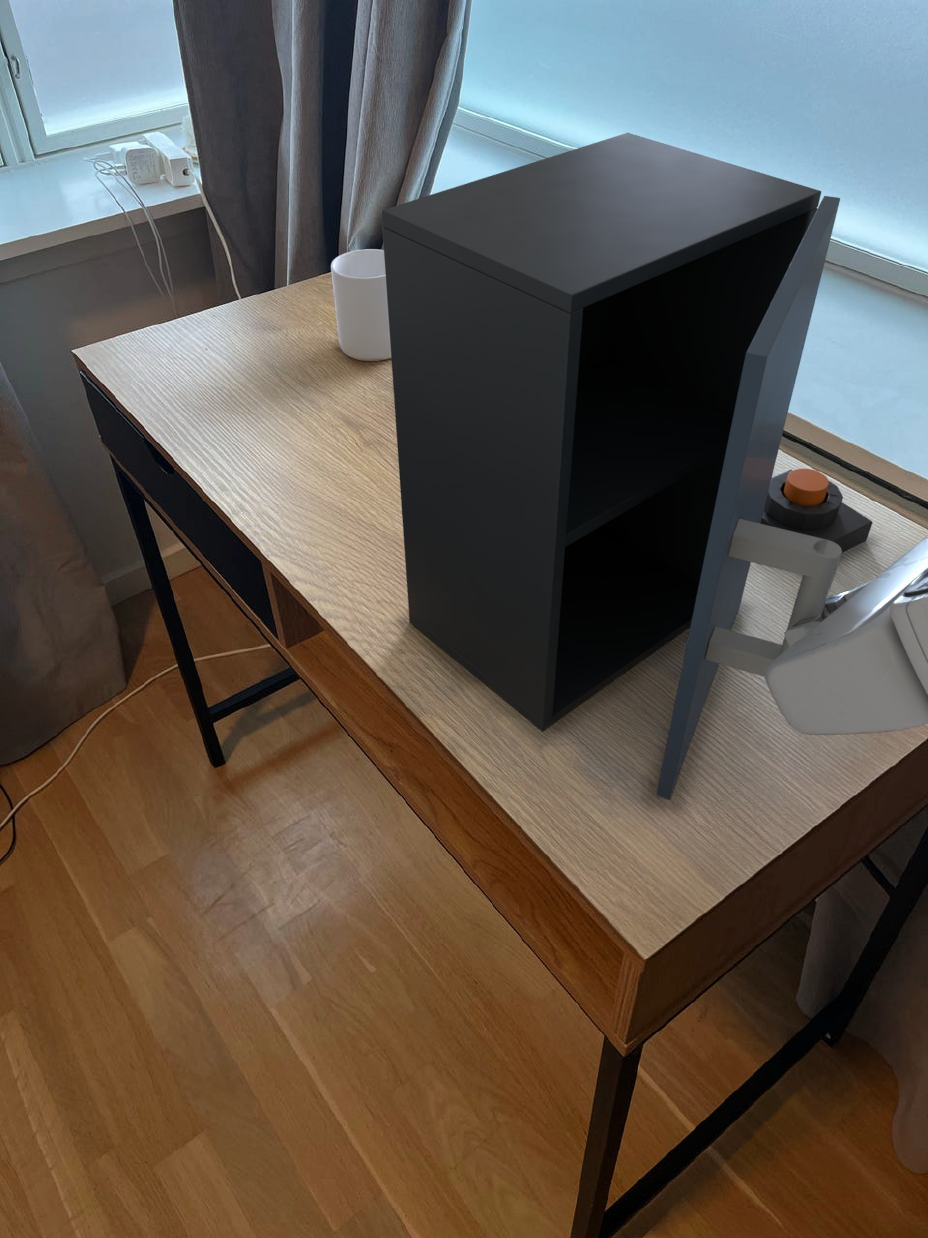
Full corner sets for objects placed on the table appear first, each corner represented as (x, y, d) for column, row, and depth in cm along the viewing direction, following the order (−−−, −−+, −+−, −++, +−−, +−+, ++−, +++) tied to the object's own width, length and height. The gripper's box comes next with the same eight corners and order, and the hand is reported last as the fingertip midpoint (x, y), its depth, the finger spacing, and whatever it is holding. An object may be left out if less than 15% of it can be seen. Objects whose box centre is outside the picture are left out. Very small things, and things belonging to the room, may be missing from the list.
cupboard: (726, 601, 83) (822, 190, 59) (542, 732, 72) (571, 295, 49) (590, 517, 92) (627, 131, 68) (409, 622, 81) (380, 209, 58)
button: (832, 498, 87) (837, 482, 86) (804, 511, 86) (808, 495, 85) (803, 479, 89) (807, 463, 88) (774, 491, 88) (778, 476, 87)
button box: (866, 540, 88) (878, 505, 86) (804, 571, 85) (815, 535, 83) (786, 487, 95) (795, 452, 92) (725, 514, 92) (733, 479, 89)
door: (809, 625, 80) (941, 210, 57) (753, 828, 66) (900, 381, 43) (728, 603, 82) (823, 195, 59) (655, 795, 68) (745, 352, 45)
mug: (313, 331, 120) (303, 248, 113) (371, 313, 124) (365, 233, 117) (360, 369, 113) (352, 284, 106) (420, 350, 116) (416, 266, 109)
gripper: (1110, 435, 49) (882, 507, 61) (896, 620, 39) (675, 662, 51) (1161, 544, 50) (925, 594, 62) (964, 753, 40) (729, 764, 52)
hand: (810, 627), depth 56 cm, fingers closed on door, 2 cm apart
